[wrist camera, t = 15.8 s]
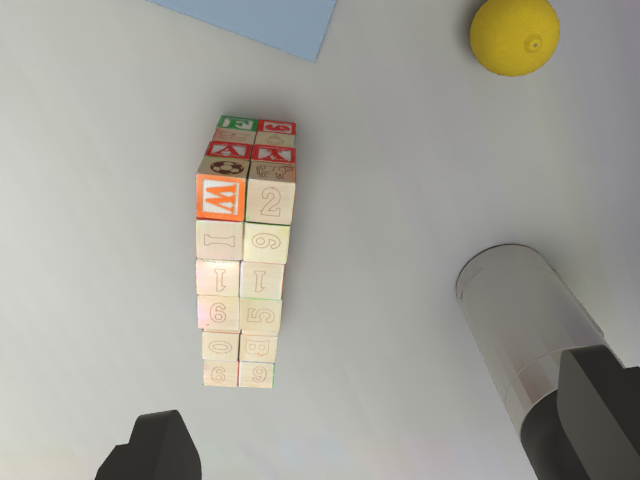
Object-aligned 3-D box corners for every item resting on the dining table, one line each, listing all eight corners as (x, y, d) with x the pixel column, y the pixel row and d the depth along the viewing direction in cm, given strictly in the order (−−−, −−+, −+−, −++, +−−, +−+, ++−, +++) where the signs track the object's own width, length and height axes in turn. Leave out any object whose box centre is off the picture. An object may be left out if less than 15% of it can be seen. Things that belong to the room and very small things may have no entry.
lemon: (445, 49, 40) (476, 74, 33) (478, -27, 38) (519, -18, 31) (507, 71, 41) (550, 100, 34) (544, -1, 39) (597, 14, 32)
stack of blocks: (275, 321, 54) (271, 418, 43) (214, 317, 53) (194, 414, 42) (296, 121, 43) (297, 183, 32) (219, 112, 42) (194, 173, 32)
